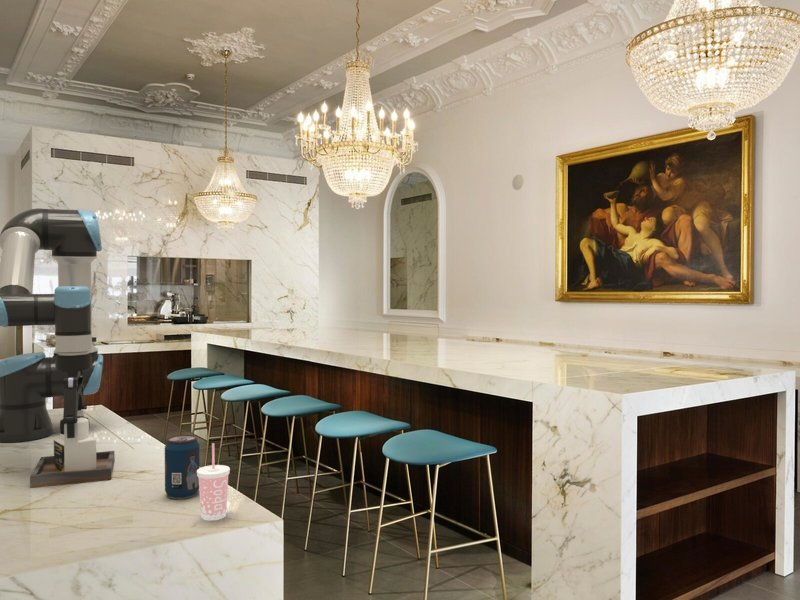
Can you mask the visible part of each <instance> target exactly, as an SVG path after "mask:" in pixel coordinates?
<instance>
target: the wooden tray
mask: <svg viewBox="0 0 800 600" xmlns="http://www.w3.org/2000/svg"><path fill="white" fill-rule="evenodd" d="M115 459H116V457H115V450H107V451H96V469H89V470H78V471H68V472H59V471H58V470H56V469H55V468H54V455H50V456H41V457H40V459H39V460H38V462H37V463H36V464H35V467H34V469H33V470H32V472H31V474H30V475H29V488H30V489H32V488H41V487H51V486H53V487H54V486H60V485H61V486H62V485H63V486H64V485H69V484H70V485H73V484H80V483H81V484H82V483H90V482H91V483H92V482H100V481H110V480H112V476H113V471H114V467H115Z"/></svg>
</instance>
